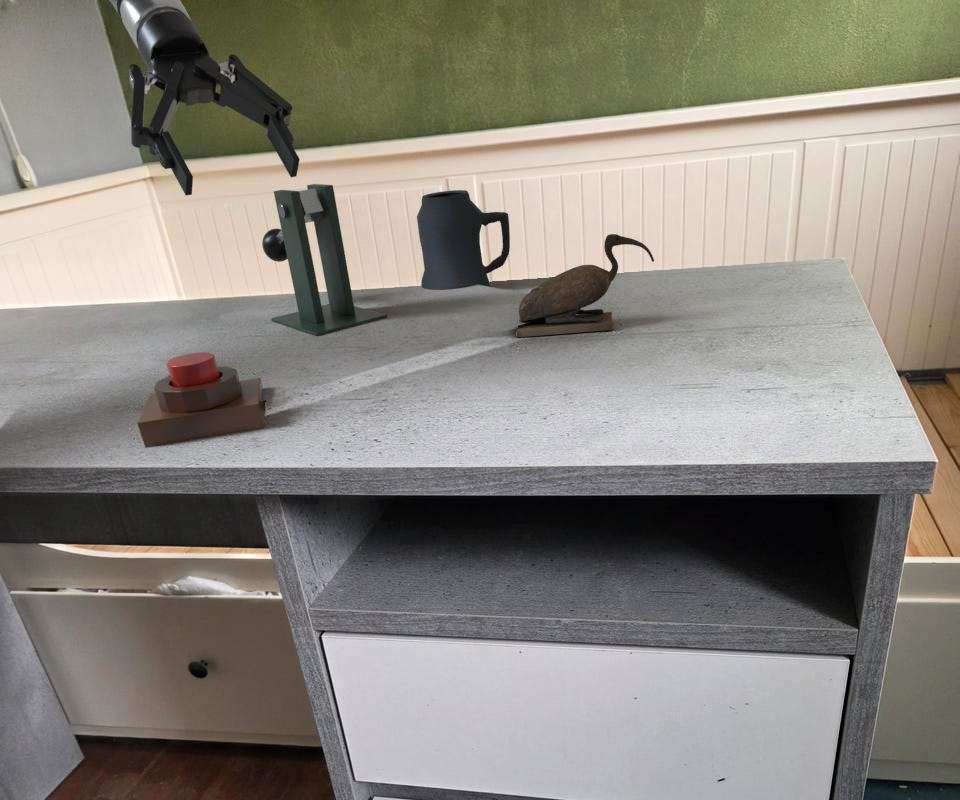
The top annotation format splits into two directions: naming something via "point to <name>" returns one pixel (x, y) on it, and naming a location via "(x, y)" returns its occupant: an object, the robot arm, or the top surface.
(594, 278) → the figurine
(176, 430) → the button block
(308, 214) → the lever
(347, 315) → the bracket
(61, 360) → the top surface
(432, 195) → the mug
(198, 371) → the button
